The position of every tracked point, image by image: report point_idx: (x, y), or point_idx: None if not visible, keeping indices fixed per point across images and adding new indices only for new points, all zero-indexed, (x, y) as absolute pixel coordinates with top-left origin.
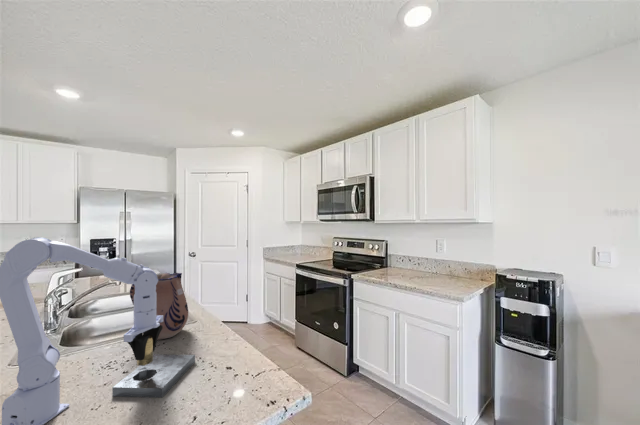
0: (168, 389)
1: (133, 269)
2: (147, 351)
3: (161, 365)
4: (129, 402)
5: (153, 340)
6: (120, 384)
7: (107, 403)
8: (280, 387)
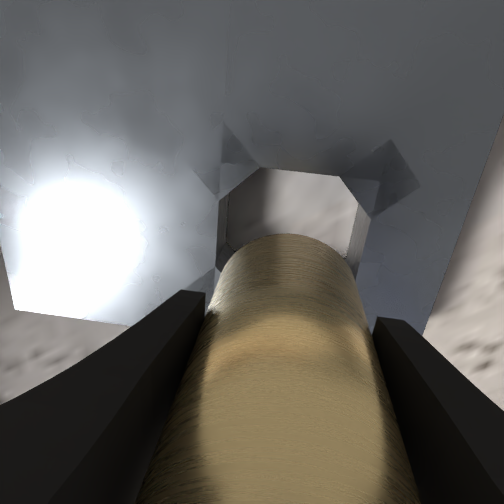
0: None
1: None
2: (363, 343)
3: (155, 185)
4: (488, 213)
5: (142, 408)
6: None
7: (457, 323)
8: None
